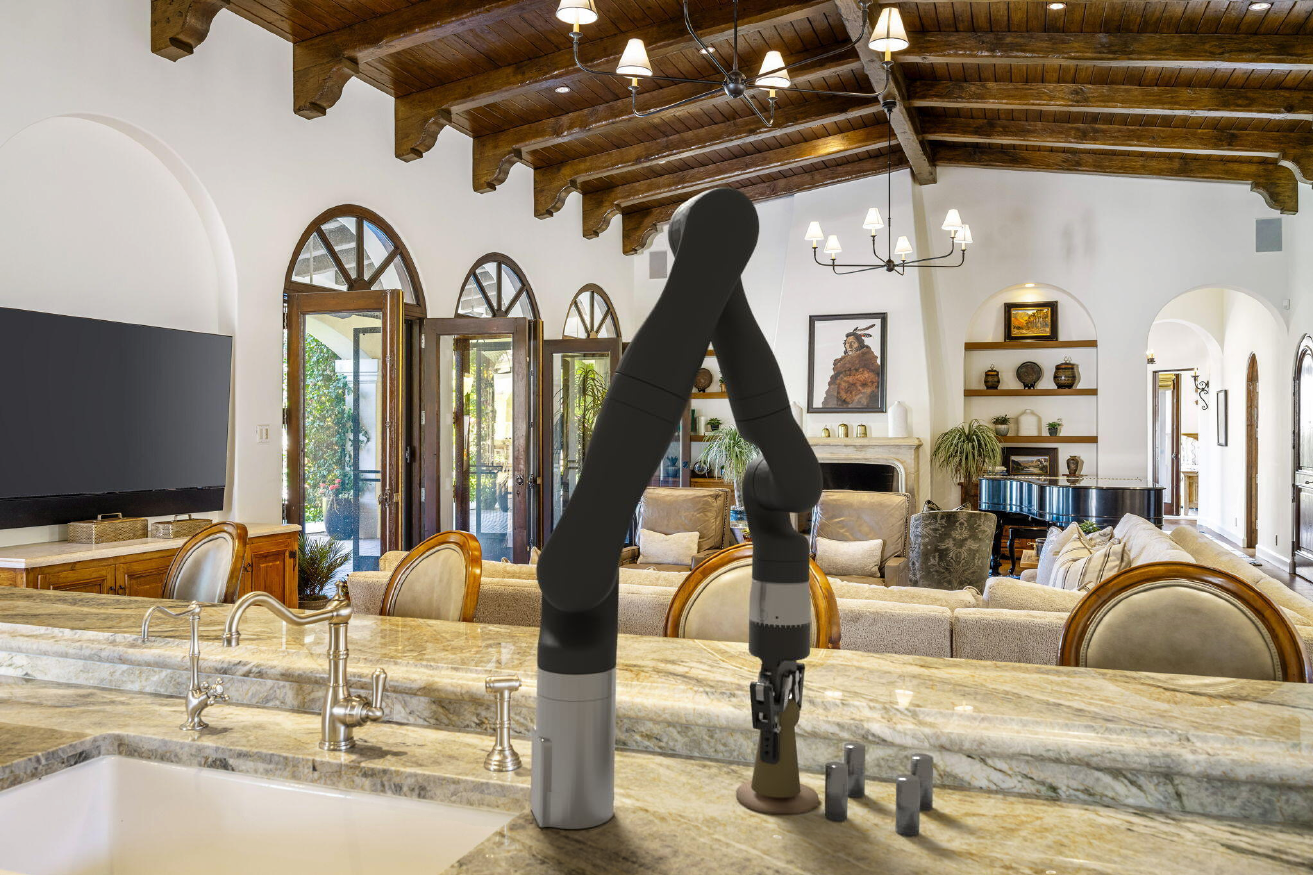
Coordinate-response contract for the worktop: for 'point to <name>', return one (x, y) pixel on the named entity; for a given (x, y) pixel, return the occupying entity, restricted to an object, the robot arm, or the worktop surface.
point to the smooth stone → (777, 801)
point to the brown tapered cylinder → (780, 760)
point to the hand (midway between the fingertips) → (777, 755)
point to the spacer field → (850, 782)
